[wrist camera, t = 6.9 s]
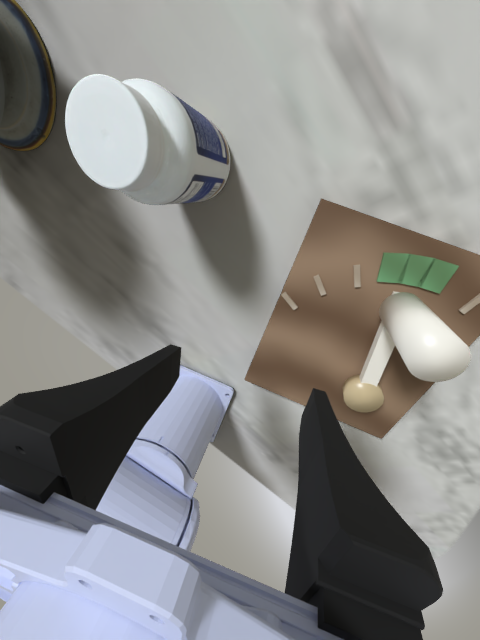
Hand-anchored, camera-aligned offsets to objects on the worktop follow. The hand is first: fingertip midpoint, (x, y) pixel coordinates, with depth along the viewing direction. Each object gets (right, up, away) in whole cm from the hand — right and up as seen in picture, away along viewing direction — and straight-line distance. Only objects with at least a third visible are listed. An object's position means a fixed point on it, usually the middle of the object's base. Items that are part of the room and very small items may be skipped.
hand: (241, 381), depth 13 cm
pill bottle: (-3, +15, +6) cm, 16 cm away
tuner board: (+10, +2, +8) cm, 13 cm away
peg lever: (+11, +1, +7) cm, 13 cm away
